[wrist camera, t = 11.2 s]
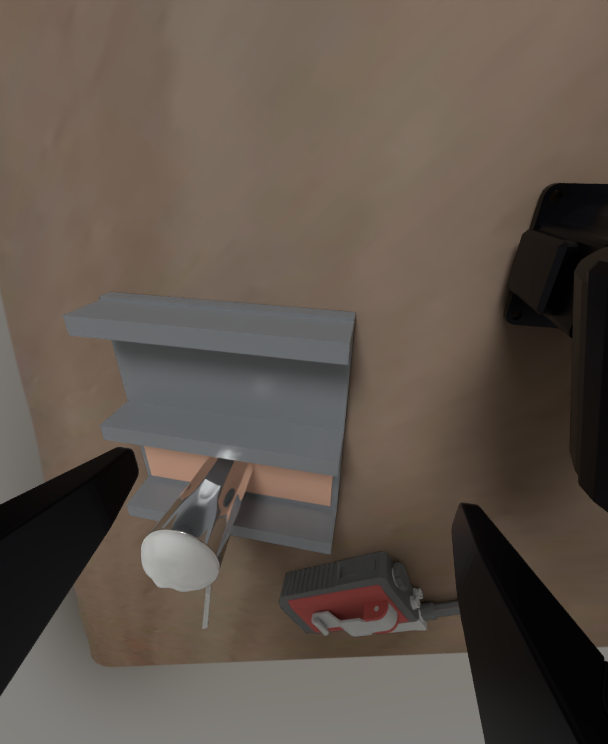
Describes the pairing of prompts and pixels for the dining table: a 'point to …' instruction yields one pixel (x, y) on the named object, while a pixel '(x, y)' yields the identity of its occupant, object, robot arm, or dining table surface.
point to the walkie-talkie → (358, 598)
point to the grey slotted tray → (232, 404)
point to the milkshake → (197, 529)
